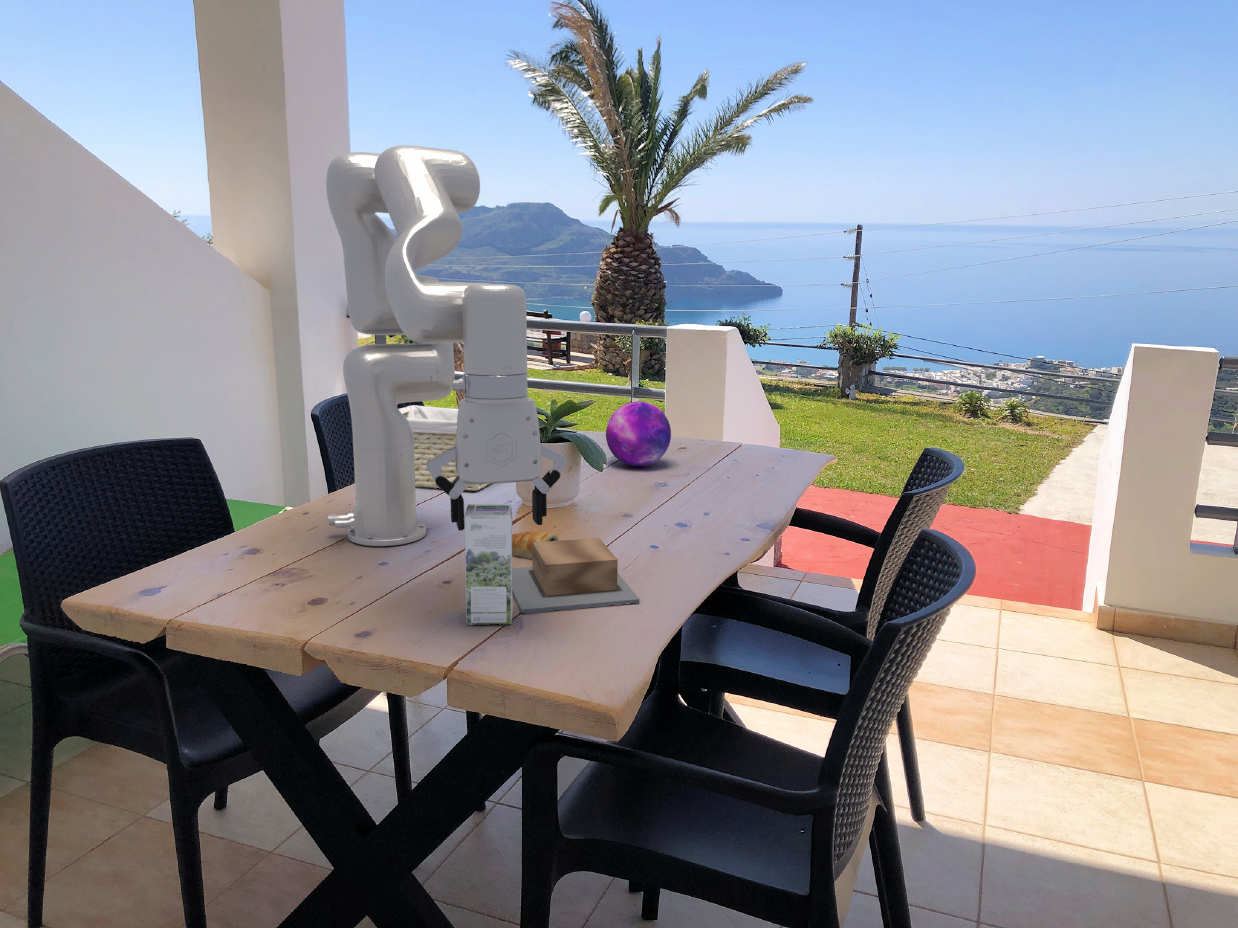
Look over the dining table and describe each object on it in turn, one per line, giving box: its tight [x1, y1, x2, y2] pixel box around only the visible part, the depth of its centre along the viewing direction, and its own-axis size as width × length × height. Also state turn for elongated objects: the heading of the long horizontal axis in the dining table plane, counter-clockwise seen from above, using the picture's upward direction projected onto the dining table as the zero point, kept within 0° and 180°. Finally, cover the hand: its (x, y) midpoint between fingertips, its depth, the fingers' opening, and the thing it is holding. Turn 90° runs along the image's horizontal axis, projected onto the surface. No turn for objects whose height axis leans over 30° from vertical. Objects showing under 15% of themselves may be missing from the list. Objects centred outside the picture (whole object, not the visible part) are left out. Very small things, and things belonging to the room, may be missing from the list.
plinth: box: [528, 537, 621, 598], centre depth 120 cm, size 11×11×5 cm
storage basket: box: [398, 404, 490, 491], centre depth 177 cm, size 24×16×15 cm
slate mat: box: [512, 566, 640, 614], centre depth 119 cm, size 16×16×1 cm
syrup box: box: [464, 503, 513, 626], centre depth 107 cm, size 6×6×14 cm
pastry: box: [512, 530, 560, 560], centre depth 134 cm, size 9×7×4 cm
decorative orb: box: [605, 401, 672, 468], centre depth 195 cm, size 15×15×15 cm
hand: (499, 525), depth 106 cm, fingers open, 9 cm apart
